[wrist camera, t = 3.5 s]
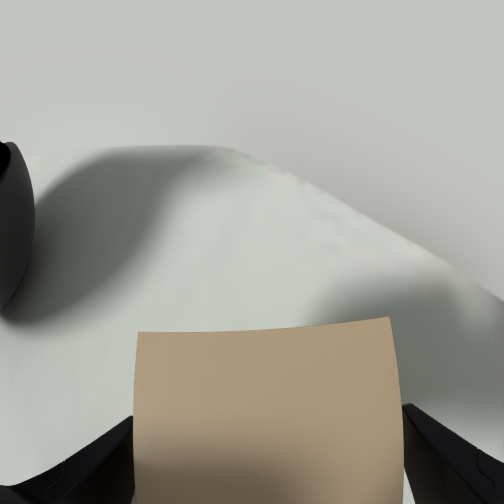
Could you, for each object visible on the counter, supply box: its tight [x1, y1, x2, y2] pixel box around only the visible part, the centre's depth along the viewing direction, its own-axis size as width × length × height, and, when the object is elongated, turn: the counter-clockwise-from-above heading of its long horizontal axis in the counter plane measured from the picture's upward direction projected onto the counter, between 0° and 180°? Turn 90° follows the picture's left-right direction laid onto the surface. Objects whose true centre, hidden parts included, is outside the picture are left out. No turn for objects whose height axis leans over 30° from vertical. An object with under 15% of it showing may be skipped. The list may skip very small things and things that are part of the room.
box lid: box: [133, 316, 404, 504], centre depth 7 cm, size 8×8×3 cm
